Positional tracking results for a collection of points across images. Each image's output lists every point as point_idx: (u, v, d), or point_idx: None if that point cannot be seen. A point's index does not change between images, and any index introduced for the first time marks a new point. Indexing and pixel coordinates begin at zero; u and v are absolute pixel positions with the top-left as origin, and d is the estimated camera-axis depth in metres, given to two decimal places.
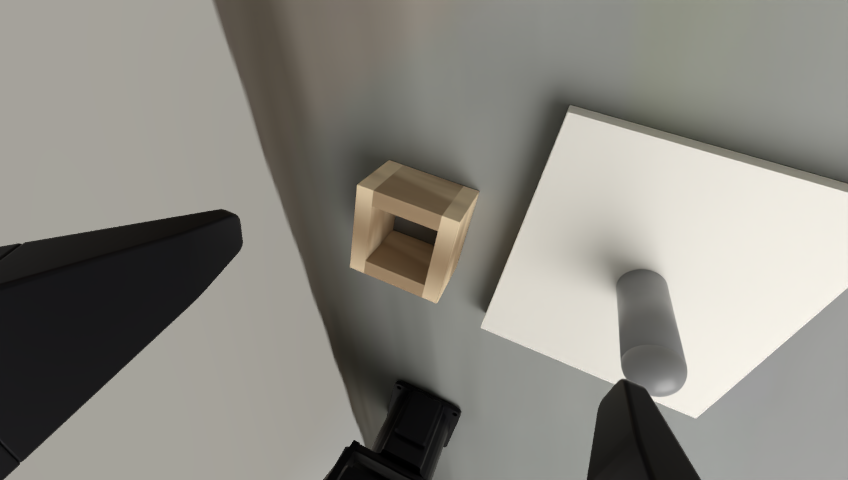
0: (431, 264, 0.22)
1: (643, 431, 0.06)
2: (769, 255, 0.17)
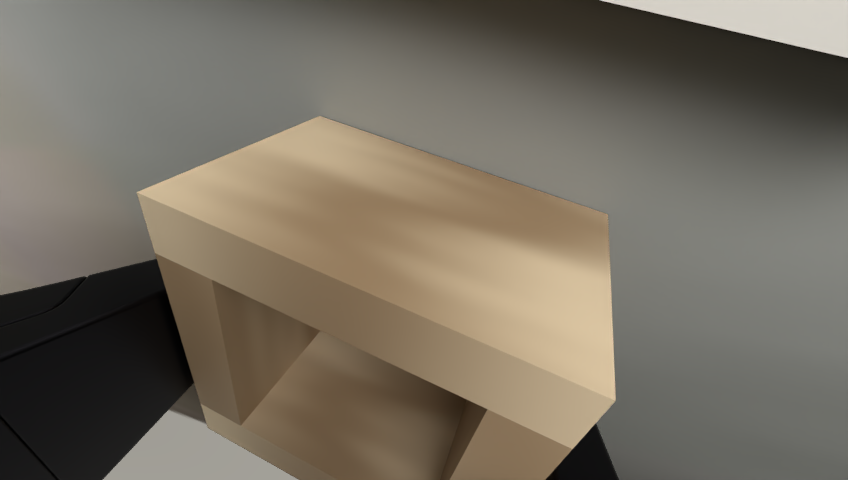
0: (360, 344, 0.05)
1: None
2: None
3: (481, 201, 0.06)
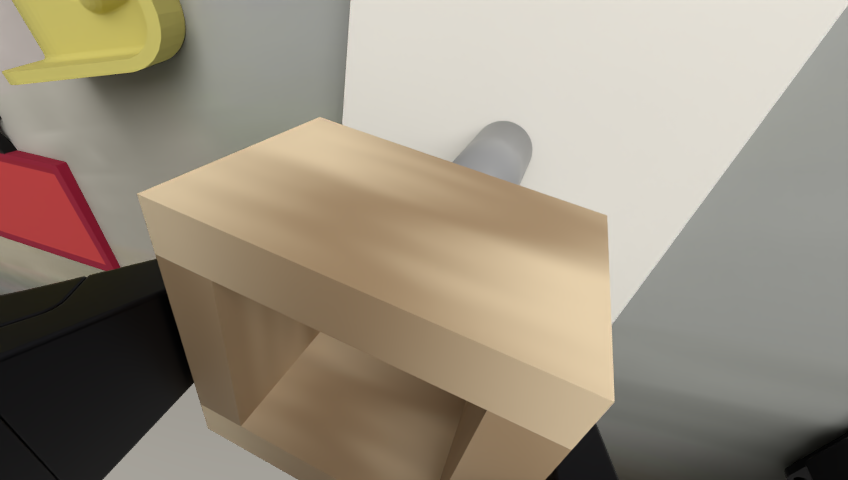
0: (360, 345, 0.05)
1: None
2: (432, 25, 0.14)
3: (481, 202, 0.06)
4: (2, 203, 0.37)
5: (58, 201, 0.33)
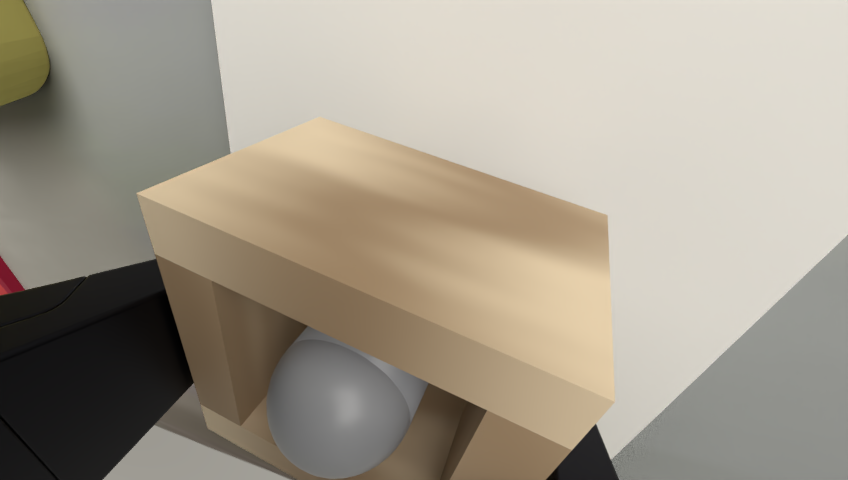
0: (360, 345, 0.05)
1: None
2: (329, 55, 0.09)
3: (481, 202, 0.06)
4: None
5: None
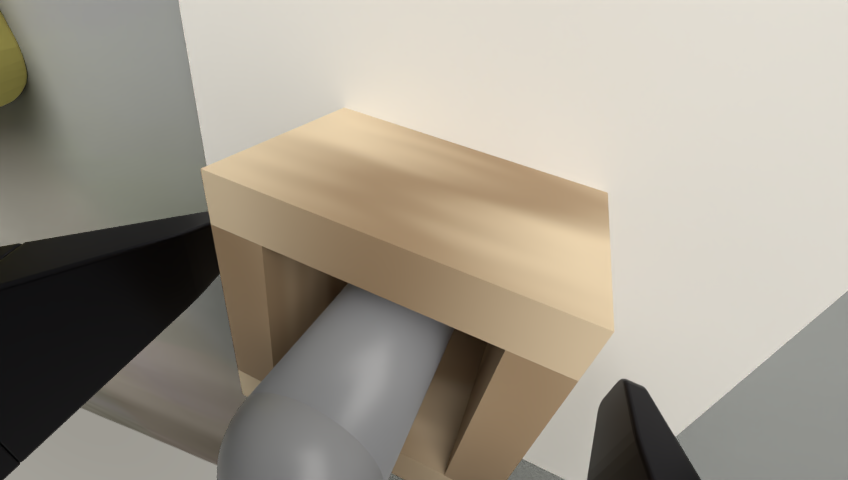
0: (394, 297, 0.05)
1: (643, 431, 0.06)
2: (306, 61, 0.08)
3: (494, 180, 0.07)
4: None
5: None
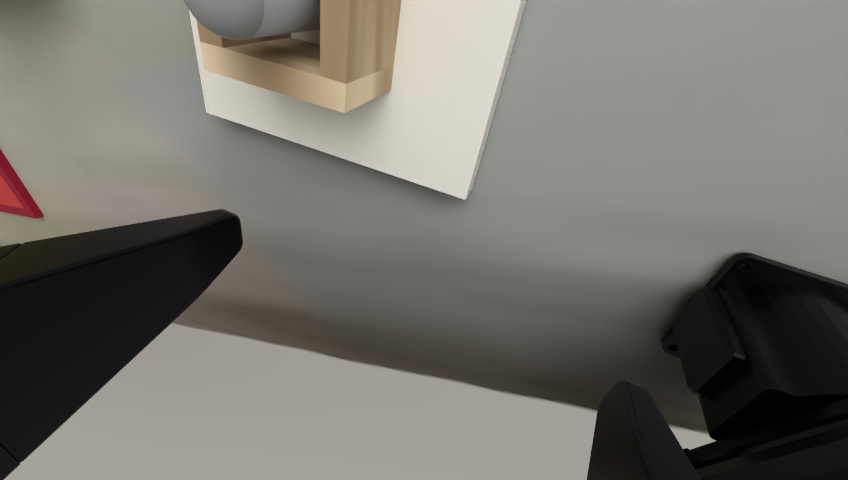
0: None
1: (643, 431, 0.06)
2: None
3: None
4: None
5: None
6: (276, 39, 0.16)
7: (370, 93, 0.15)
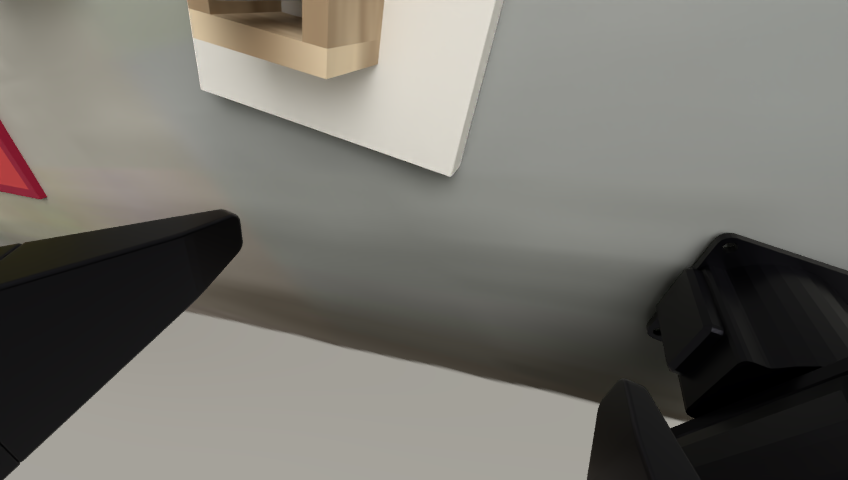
0: None
1: (643, 431, 0.06)
2: None
3: None
4: None
5: None
6: (266, 12, 0.16)
7: (354, 63, 0.15)
